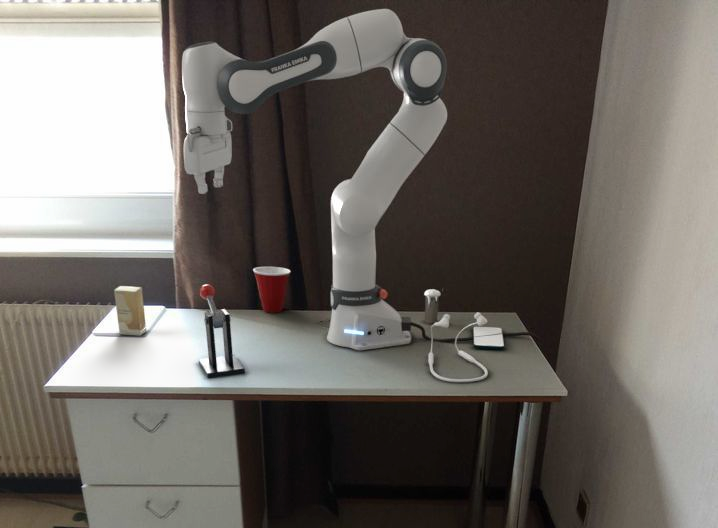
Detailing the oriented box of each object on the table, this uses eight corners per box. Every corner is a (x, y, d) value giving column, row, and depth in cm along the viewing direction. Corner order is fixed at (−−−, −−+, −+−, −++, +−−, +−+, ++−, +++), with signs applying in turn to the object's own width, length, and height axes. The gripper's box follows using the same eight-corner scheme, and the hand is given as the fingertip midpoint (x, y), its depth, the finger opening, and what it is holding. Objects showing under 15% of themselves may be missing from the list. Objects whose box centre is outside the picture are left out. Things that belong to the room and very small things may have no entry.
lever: (198, 293, 184) (198, 281, 181) (212, 292, 185) (213, 280, 182) (211, 330, 177) (211, 319, 175) (226, 329, 179) (226, 317, 176)
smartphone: (472, 329, 209) (473, 348, 195) (472, 326, 209) (473, 345, 195) (501, 331, 208) (504, 350, 195) (502, 327, 208) (504, 346, 194)
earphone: (467, 335, 193) (490, 306, 175) (476, 397, 191) (500, 374, 173) (416, 338, 191) (434, 308, 173) (424, 401, 189) (443, 378, 171)
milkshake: (440, 325, 212) (443, 289, 207) (421, 323, 213) (423, 288, 208) (442, 320, 216) (444, 285, 211) (423, 319, 217) (425, 284, 212)
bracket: (198, 363, 186) (193, 308, 179) (234, 359, 189) (230, 304, 182) (207, 378, 178) (202, 321, 171) (244, 373, 181) (240, 316, 174)
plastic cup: (299, 309, 225) (298, 268, 219) (273, 317, 218) (271, 275, 212) (273, 302, 231) (271, 262, 225) (247, 310, 224) (245, 269, 218)
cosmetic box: (119, 334, 204) (112, 289, 198) (125, 329, 208) (119, 285, 202) (141, 336, 204) (135, 291, 197) (147, 331, 207) (141, 286, 201)
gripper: (201, 129, 162) (206, 198, 169) (234, 121, 179) (238, 184, 186) (173, 128, 164) (180, 196, 171) (210, 121, 181) (214, 183, 188)
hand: (211, 190), depth 179 cm, fingers open, 8 cm apart
